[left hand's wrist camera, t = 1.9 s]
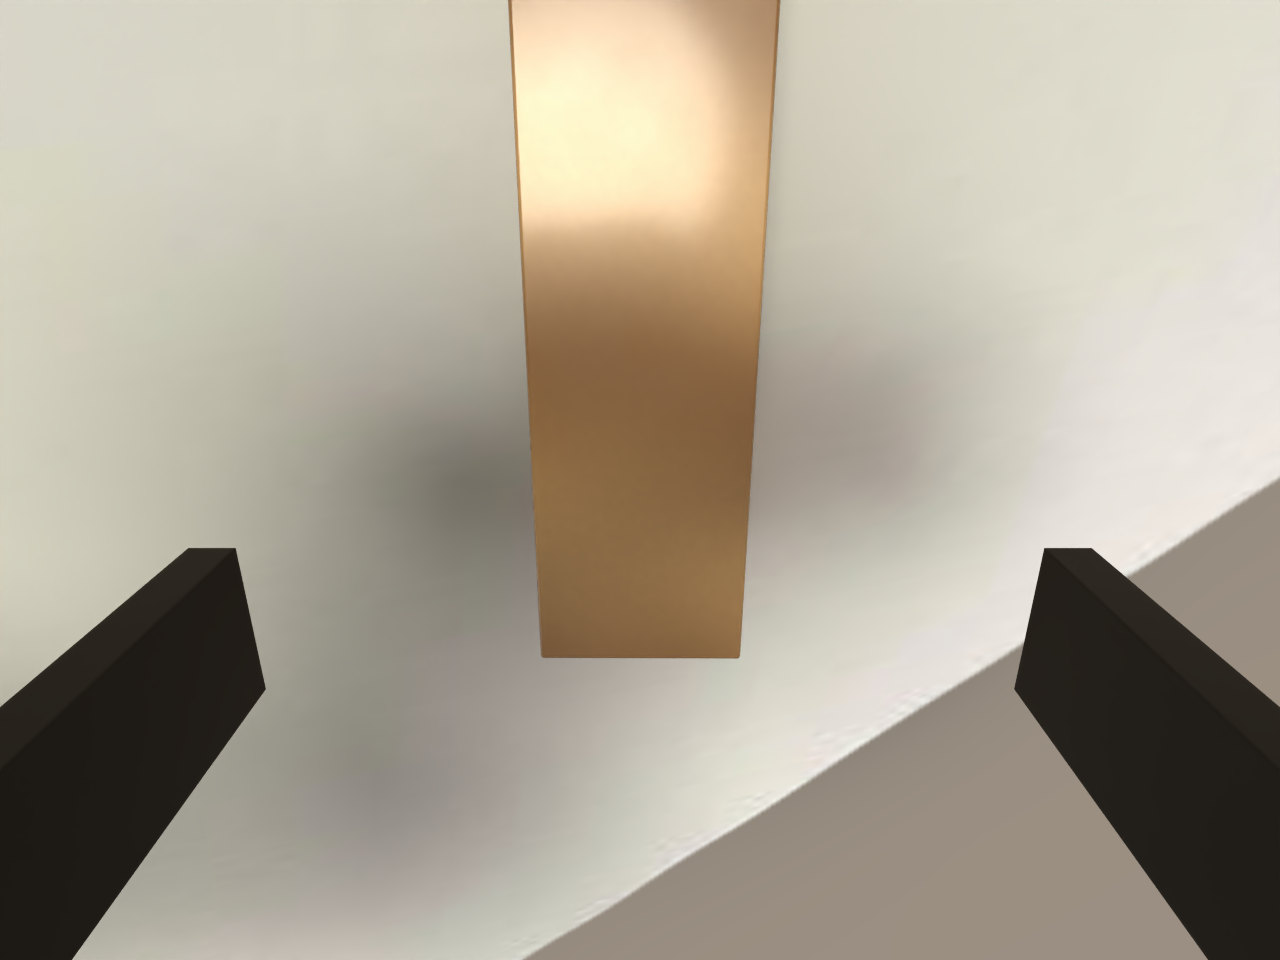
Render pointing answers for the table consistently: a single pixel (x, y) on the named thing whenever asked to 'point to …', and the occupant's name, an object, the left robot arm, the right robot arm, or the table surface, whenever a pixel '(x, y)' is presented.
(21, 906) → the left robot arm
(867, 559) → the table surface
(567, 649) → the bar
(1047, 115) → the table surface
